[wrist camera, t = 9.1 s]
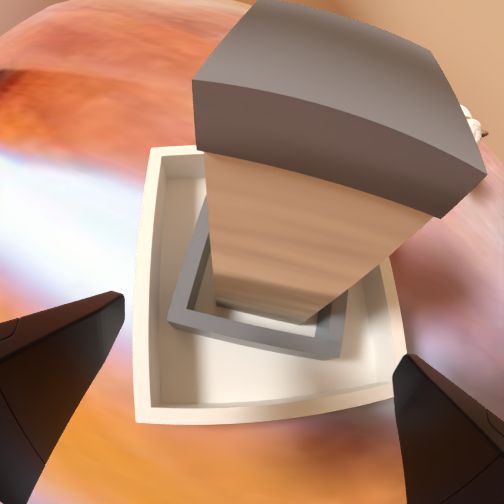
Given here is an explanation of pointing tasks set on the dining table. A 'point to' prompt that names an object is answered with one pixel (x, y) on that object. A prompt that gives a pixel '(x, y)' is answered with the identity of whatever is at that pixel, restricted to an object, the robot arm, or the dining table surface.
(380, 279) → the walled box
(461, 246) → the dining table surface
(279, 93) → the wooden block
